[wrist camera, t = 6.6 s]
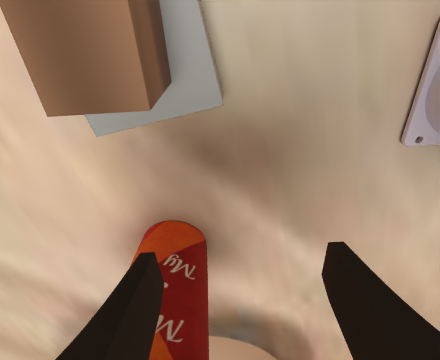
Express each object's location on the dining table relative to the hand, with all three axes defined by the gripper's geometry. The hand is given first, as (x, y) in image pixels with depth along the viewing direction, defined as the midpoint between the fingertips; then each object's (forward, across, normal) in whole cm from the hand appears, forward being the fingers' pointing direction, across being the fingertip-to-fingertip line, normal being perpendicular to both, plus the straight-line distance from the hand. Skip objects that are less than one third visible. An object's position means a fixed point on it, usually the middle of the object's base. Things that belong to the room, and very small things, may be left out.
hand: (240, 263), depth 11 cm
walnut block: (+7, +5, -8) cm, 12 cm away
